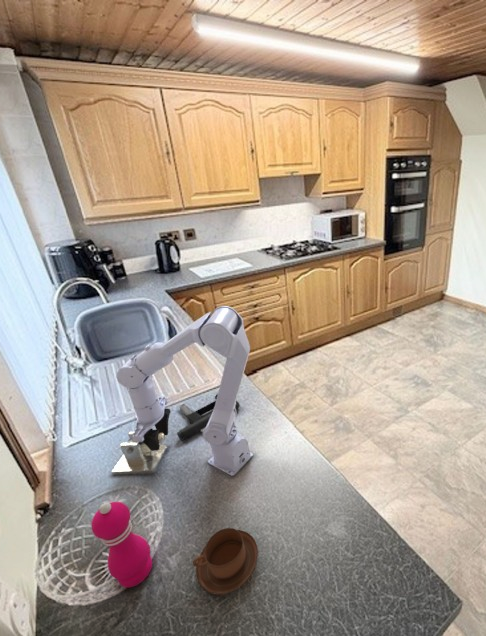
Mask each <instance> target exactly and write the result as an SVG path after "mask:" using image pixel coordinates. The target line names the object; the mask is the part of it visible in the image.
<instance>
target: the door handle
mask: <svg viewBox="0 0 486 636" xmlns="http://www.w3.org/2000/svg"><path fill="white" fill-rule="evenodd" d="M217 396H218V393H217V394H216V395H215V396H214V401H212V402H210V403H208V404H206V405H204V406H203V407H200V408H199V409H197V410H195V411H192V410H191V409H190V408H189V407H188V406H187V405H186V404H185V403H183V404H181V405H179V410H180V411H181V413H183V414H184V415H185V416H186V417H187V421H188V423H189V425H187V426H184V427H183V428H182V429H180V430H178V432H177V431H176V435H177V437H178V438H179V440H180V441H182V440H186V439H188V438H190V437H191V436H193V435H195V434H197V433H198V432H200V433H203V431H204V429H205V428H206V426H207V424H208V421H209V419H210V417H211V415H212V412H211V413H209V412H210V411H213V409H214V407H215V404H216V400H217ZM240 405H241V404H240V402H239V401H238V400H236V405H235V409H236V411H237V410H239V409H240ZM207 413H209V414H207ZM205 414H207V415H205ZM203 415H205V416H204V417H203Z"/></svg>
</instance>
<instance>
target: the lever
mask: <svg viewBox="0 0 486 636" xmlns="http://www.w3.org/2000/svg"><path fill="white" fill-rule="evenodd" d="M165 439H166V435H164V433H163V432H161V431H159V432H158V440H159V444H161V443H163V442H164V441H165ZM132 442H134V440H133V438H129V439H128V441H127V442H126V443H132ZM138 443H139V445H140V447H141V446H142V444H145V443H143V442H138Z"/></svg>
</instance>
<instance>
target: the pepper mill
mask: <svg viewBox="0 0 486 636" xmlns="http://www.w3.org/2000/svg"><path fill="white" fill-rule="evenodd" d="M132 529H133V523H132V521H131V511H130V508H129V507H128V505H127V504H126V503H124V502H120V501H112V502H104V503H102V504H101V505H100V506H99V508H98V510H97V511H96V512H95V514H94V515H93V517H92V520H91V531H92V533H93V535H94V536H95V537H96V538H97V539H100V540H101V542H102V544H103V545H104V546H107V547H108V548H109V551H108V557H107V568H108V571H109V572H108V573H109V574H110V576H111V577H112V578H114V579H116V580H117V582H118V584H119V585H120V586H121V587H123V588H126V589H127V588H133V587H136V586H138V585H139V584H140V583H142V582H143V581H145V580H146V578H147V577H148V575H150V572H151V570H152V568H153V559H152V556H151V547H150V544H149V543H148V541H147V540H146V539H145V538H144V537H143V536H141V535H139V534H135V533H133V532H132Z"/></svg>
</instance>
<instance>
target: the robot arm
mask: <svg viewBox="0 0 486 636" xmlns="http://www.w3.org/2000/svg"><path fill="white" fill-rule="evenodd" d="M194 343H196V345H199V346H200V347H201V348H202V347H205V346H206V347H208V348H210V349H211V350H213V351H215V352H216V353H218V354H219V355H221V356H223V357H224V358H226V359H225V364H224V368H223V372H222V376H221V380H220V384H219V387H218V392H217V394H218V396H217V400H216V399H215V401H216V404H215V407H214V409H212V412H211V413H212V415H211V417H210V419H209V421H208V424H207V426H206V428H205V429H204V431H203V432H202V438H203V440H204V441H205V442H206V443H208V444H209V446H210V448H211V452H212V456H211V457H210V458H209V459H208V460H207V464H209V465H210V466H213V467H214V468H216V469H218V470H219V471H222V472H224V473H225V474H227V475H229V476H231V477H234V476H235V475H236V474H237V473H238V472H239V471H240V470H241V469H242V468H243V467H244V466H245V464H246V463H247V462H248V461H249V460H250V459H251V458H252V457H253V456H254V454H253V453H252V452H251V451H250V447H249V441H248V440H247V439H246V438H245V437H243V436H242V435H241V434H240V433H239V431H238V429H237V425H236V423H235V419H236V417H237V415H238V413H237V410H236V409H235V405H236V401H237V399H238V396H239V392H240V388H241V385H242V381H243V377H244V373H245V370H246V367H247V363H248V359H249V356H250V352H251V345H250V342H249V338H248V335H247V332H246V330H245V325H244V319H243V317H242V316H241V315H240V314H239V313H238V312H237V310H236V309H235V308H233V307H231V306H228V305H220V306H217V307H216V308H215V309H214V310H213V311H209V312H206V313H205V314H203V315H202V316H201V317H199V318H198V319H196V320H195V321H193V322H192V323H190V324H189V325H188V326H187V327H185V328H183V330H181V331H179V332H178V333H176V334H175V335H174V336H173V337H172V338H170V339H169V340H167V341H166V342H161V341H157V342H155V343H153V344H152V343H151V342H150V343H148V344H146V345H145V347H143V351H141V352H140V353H138V354H132V356H131V357H129V359H128V360H127V361H126V362H125V363H124V364H123V365H122V367H120V368H119V370H118V371H117V372H116V374H115V375H116V376H115V377H116V380H117V382H118V384H120V385H121V386H123V387H124V388H125V389H126V391H127V393H128V396H129V399H130V401H131V404H132V406H133V410H134V413H135V415H134V417H133V419H134V421H136V424H135V428H134V431H135V432H134V434H133V436H132V437H133V440H134V442H143V443H145V444H146V445H147V446H148V448H149V449H150V450H151V451H158V450H159V448H160V445H161V444H160V443H159V440H158V432H159V431H161V432H163V433H164V435H165V436H168V434H169V419H170V414H171V408H167V407H166V405H168V404H169V401H168V398H167V396H158V393H157V390H156V387H155V383H154V380H153V375H154V374H156V373H157V372H159V371H160V370H162V369H164V368H165V367H167V366H168V365H170V364H171V363H172V362H173V360H174V355H175V354H178V353H180V352H181V351H182V350H184V349H186V348H188V347H190V346H191V345H193V344H194ZM153 427H155V429H153Z"/></svg>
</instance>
